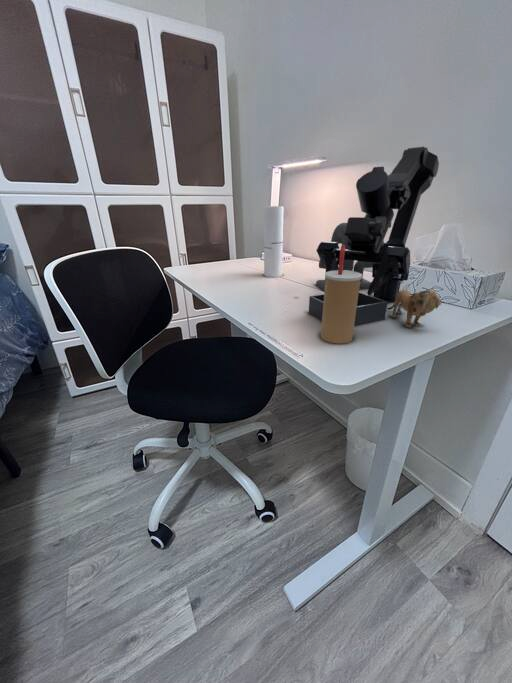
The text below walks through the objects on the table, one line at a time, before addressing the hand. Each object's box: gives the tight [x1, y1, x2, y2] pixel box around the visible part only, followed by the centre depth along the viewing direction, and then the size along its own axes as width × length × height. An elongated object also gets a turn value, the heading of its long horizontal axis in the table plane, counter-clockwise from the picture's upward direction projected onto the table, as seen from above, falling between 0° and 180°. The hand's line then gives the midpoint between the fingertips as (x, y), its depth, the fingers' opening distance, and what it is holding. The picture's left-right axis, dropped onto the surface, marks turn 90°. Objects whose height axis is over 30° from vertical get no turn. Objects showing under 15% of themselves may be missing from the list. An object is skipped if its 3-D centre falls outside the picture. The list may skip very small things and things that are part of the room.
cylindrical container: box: [263, 205, 285, 278], centre depth 111 cm, size 7×7×25 cm
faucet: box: [315, 222, 373, 292], centre depth 98 cm, size 18×16×20 cm
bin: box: [308, 291, 389, 327], centre depth 73 cm, size 14×12×4 cm
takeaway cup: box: [320, 244, 362, 345], centre depth 58 cm, size 7×7×19 cm
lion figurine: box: [386, 289, 443, 328], centre depth 68 cm, size 15×5×9 cm, turn 13°
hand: (346, 290), depth 60 cm, fingers open, 9 cm apart
